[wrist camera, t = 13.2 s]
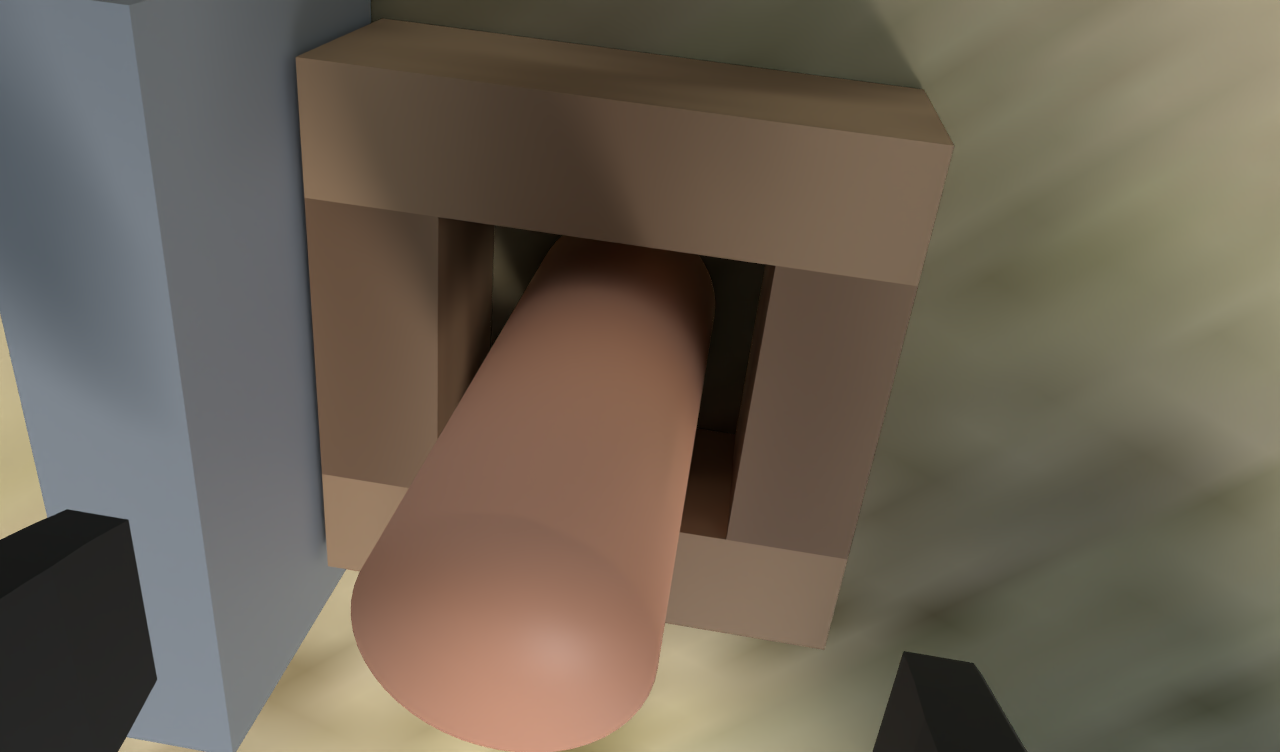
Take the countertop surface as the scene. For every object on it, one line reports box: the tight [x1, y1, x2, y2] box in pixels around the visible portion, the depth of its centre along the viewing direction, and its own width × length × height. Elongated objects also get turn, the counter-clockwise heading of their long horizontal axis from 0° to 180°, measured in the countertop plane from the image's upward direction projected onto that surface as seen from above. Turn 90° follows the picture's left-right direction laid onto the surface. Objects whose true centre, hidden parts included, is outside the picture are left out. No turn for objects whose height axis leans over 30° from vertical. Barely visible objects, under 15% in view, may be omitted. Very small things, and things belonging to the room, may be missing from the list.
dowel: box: [351, 235, 715, 752], centre depth 13 cm, size 3×3×8 cm
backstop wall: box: [0, 0, 371, 752], centre depth 14 cm, size 2×10×6 cm, turn 174°
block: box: [296, 18, 954, 650], centre depth 15 cm, size 8×8×3 cm
